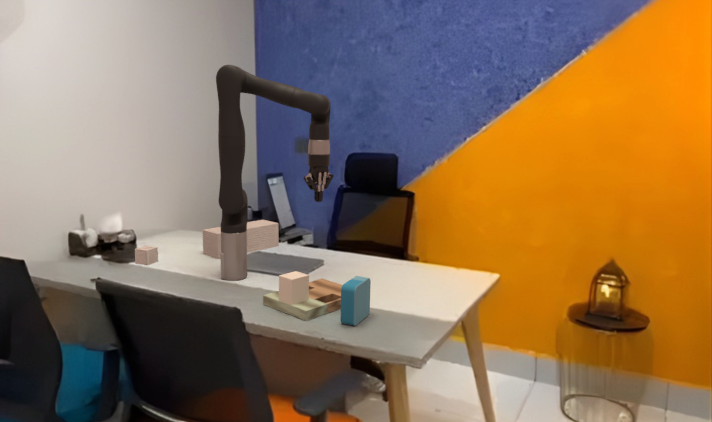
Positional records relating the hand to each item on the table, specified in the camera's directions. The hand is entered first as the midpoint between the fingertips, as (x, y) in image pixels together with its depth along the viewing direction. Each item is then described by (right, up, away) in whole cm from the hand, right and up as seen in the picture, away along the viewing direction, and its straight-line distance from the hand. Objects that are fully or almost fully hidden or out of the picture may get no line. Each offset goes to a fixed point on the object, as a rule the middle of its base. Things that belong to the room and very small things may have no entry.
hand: (318, 201), depth 208 cm
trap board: (0, -33, -18) cm, 38 cm away
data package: (+13, -36, -32) cm, 50 cm away
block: (-6, -31, -26) cm, 41 cm away
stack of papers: (-36, -21, +45) cm, 61 cm away
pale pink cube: (-69, -24, +23) cm, 77 cm away
